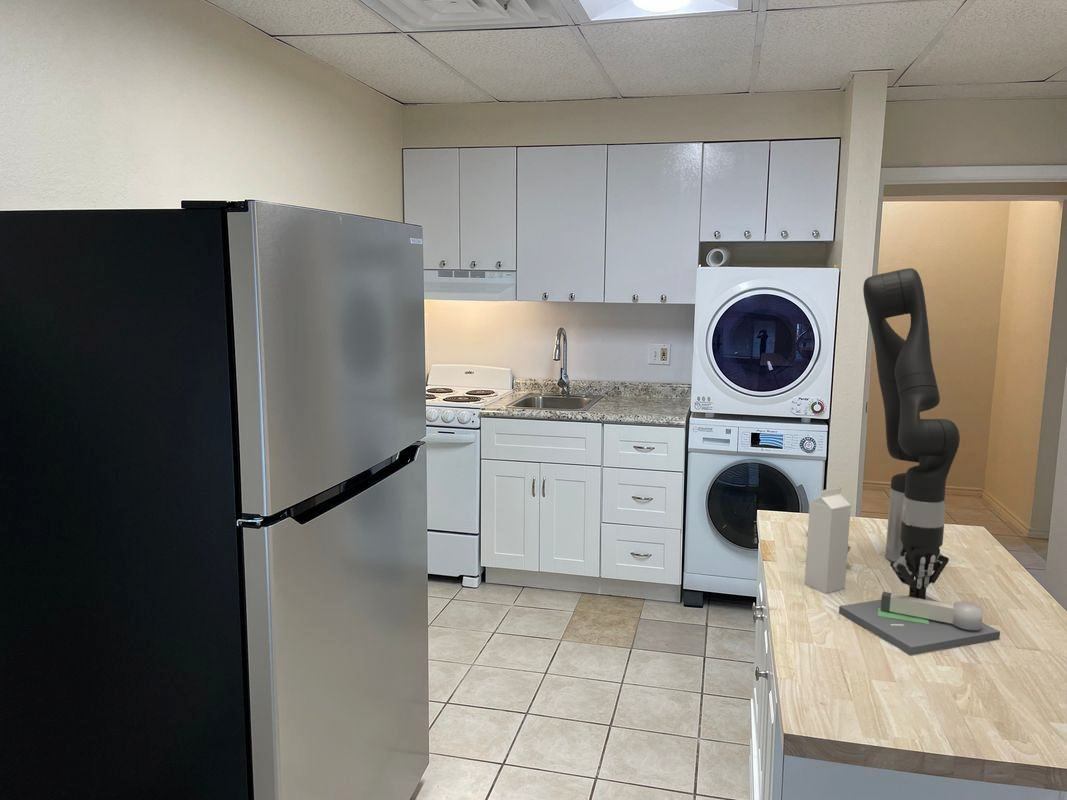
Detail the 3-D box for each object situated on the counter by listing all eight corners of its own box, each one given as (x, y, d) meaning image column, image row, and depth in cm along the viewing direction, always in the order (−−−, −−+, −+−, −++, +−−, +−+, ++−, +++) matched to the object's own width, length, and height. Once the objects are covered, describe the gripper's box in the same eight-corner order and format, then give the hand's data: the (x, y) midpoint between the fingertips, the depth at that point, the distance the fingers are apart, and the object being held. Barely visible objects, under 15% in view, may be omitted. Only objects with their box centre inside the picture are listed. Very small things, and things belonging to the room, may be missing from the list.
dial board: (921, 600, 169) (921, 592, 168) (999, 638, 151) (1000, 630, 151) (838, 613, 162) (839, 605, 162) (910, 655, 144) (911, 646, 144)
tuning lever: (981, 622, 153) (983, 605, 153) (981, 632, 149) (983, 614, 148) (882, 603, 162) (884, 586, 161) (879, 612, 157) (881, 595, 157)
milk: (844, 588, 174) (853, 490, 171) (825, 594, 172) (833, 494, 168) (822, 579, 180) (829, 484, 176) (803, 584, 177) (810, 487, 173)
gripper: (933, 511, 162) (927, 592, 165) (881, 518, 157) (876, 601, 160) (964, 521, 155) (958, 606, 158) (910, 529, 150) (904, 617, 153)
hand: (916, 604), depth 159 cm, fingers closed
